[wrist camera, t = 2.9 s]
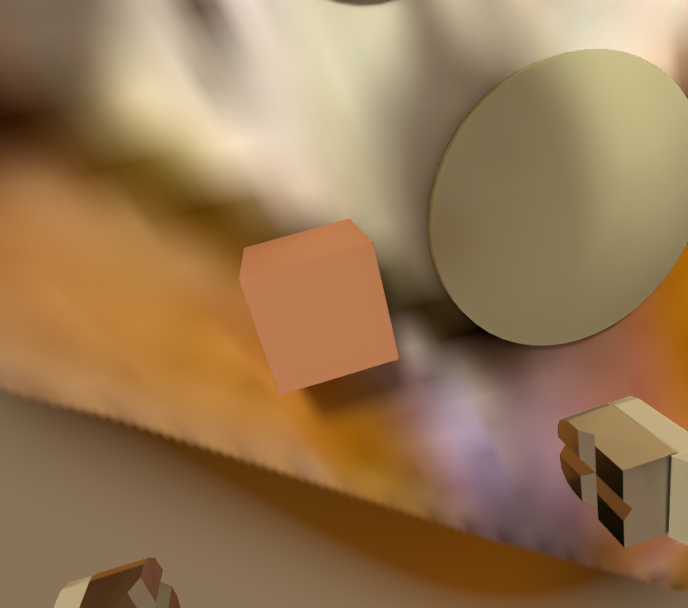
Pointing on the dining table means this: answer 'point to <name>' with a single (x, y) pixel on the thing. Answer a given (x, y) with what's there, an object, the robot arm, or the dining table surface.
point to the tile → (563, 197)
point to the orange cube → (318, 305)
